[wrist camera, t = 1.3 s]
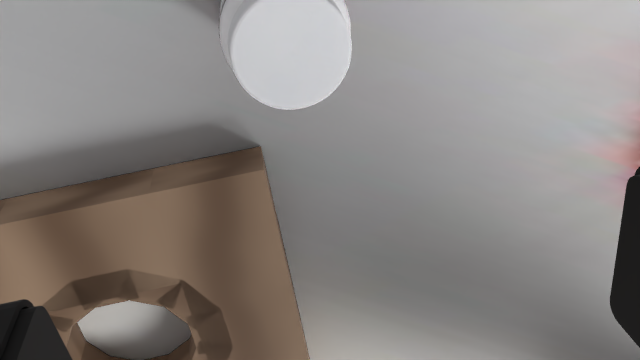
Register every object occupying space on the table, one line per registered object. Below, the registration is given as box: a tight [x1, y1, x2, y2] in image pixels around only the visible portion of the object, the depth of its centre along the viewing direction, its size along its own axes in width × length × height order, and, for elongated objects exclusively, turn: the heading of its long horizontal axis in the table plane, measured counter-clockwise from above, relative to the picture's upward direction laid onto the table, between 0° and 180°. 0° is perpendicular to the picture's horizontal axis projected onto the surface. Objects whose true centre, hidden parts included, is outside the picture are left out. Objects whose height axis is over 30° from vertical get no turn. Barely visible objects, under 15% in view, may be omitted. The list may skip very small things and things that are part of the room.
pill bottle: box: [219, 0, 352, 110], centre depth 23 cm, size 5×5×8 cm
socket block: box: [0, 146, 310, 360], centre depth 33 cm, size 18×18×2 cm
